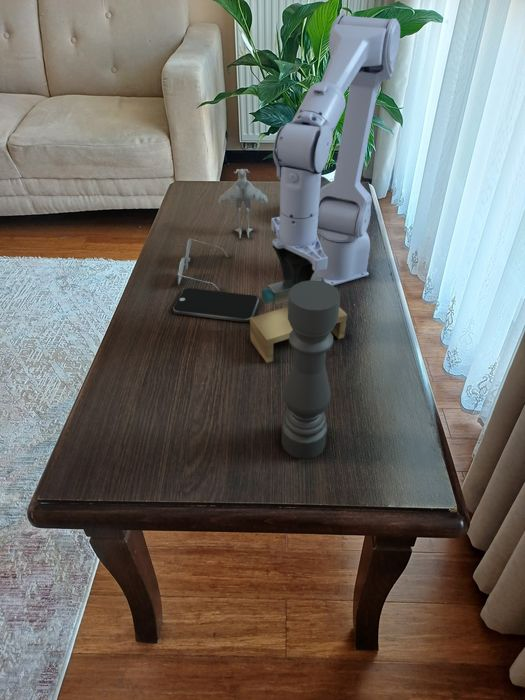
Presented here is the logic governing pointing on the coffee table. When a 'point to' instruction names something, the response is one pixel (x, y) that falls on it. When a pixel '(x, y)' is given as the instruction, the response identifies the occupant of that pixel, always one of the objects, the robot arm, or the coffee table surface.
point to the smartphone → (216, 305)
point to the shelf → (281, 330)
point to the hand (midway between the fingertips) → (295, 287)
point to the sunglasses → (189, 261)
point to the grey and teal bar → (281, 290)
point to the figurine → (242, 196)
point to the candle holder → (309, 367)
